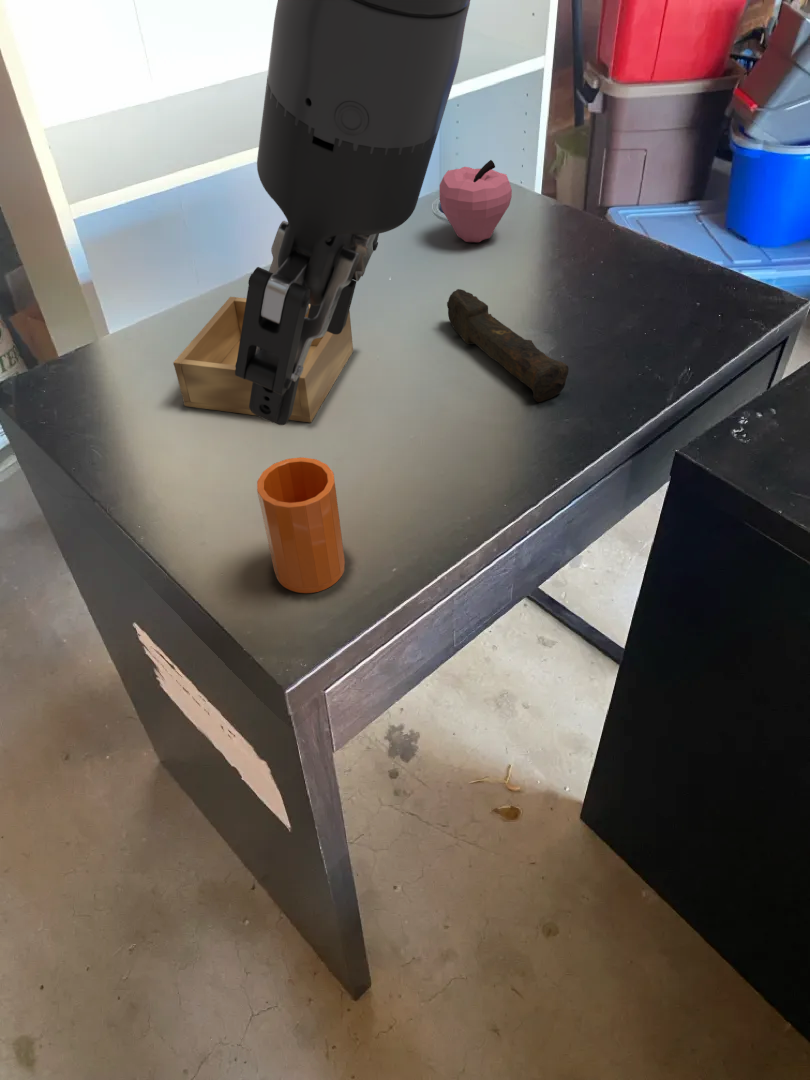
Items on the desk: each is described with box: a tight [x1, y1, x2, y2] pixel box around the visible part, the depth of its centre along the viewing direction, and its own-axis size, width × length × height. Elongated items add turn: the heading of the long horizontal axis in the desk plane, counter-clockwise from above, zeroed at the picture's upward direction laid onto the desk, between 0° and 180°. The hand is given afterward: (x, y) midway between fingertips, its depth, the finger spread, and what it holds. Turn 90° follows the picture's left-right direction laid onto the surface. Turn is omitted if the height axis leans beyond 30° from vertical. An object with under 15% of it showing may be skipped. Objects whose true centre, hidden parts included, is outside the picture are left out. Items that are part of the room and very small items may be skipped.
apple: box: [439, 159, 513, 243], centre depth 106 cm, size 10×9×10 cm
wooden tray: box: [172, 296, 354, 423], centre depth 85 cm, size 14×14×5 cm
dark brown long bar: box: [446, 288, 569, 403], centre depth 86 cm, size 19×4×5 cm, turn 28°
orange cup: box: [256, 456, 346, 594], centre depth 63 cm, size 6×6×9 cm
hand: (298, 368), depth 47 cm, fingers open, 8 cm apart
